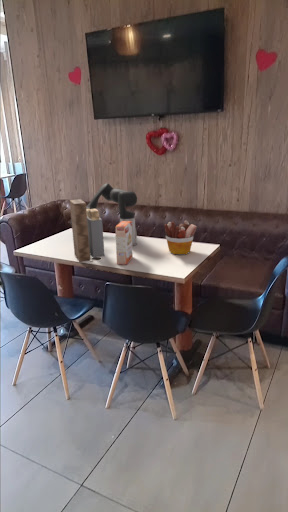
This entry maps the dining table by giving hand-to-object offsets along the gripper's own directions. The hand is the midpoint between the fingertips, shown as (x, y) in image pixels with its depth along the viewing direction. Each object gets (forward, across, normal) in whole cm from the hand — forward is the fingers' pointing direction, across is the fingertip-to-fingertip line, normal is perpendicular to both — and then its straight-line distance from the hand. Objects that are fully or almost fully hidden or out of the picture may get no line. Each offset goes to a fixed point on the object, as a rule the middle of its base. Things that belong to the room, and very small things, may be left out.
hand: (84, 206), depth 222 cm
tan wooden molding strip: (+11, 0, -11) cm, 15 cm away
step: (+5, -1, -32) cm, 32 cm away
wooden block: (+7, +8, -33) cm, 35 cm away
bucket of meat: (+21, -45, -42) cm, 65 cm away
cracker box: (+21, -12, -42) cm, 48 cm away
